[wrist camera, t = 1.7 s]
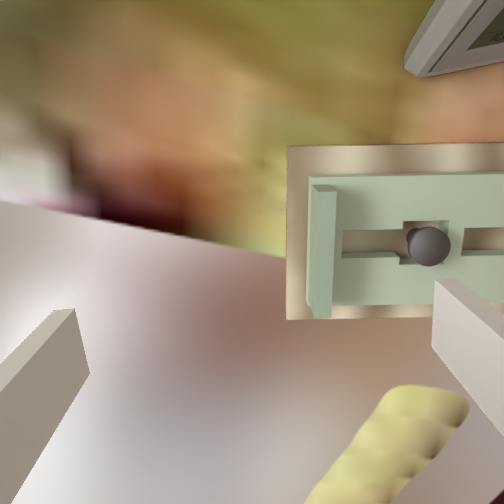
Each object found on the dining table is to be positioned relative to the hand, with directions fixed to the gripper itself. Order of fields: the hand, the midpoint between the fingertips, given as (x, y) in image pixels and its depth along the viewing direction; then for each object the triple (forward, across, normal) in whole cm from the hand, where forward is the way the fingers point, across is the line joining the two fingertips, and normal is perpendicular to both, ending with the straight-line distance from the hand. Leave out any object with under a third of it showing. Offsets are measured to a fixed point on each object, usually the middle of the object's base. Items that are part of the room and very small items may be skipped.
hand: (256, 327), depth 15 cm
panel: (+17, +15, -3) cm, 23 cm away
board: (+19, +17, -3) cm, 26 cm away
